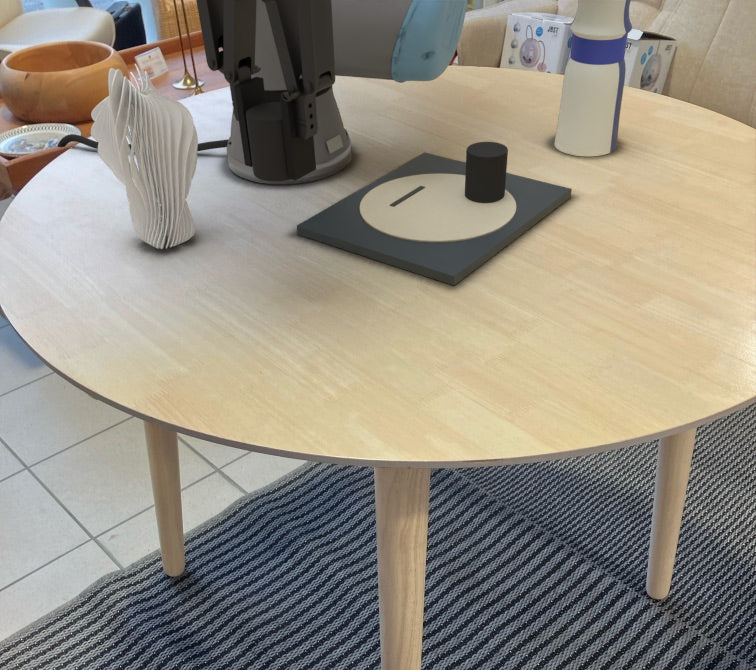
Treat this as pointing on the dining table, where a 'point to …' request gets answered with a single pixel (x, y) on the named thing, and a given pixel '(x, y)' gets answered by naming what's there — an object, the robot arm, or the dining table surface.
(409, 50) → the robot arm
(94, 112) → the white ribbed sculpture
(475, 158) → the stamp
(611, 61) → the water bottle
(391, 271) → the dining table surface
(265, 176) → the stamp
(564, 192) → the board
